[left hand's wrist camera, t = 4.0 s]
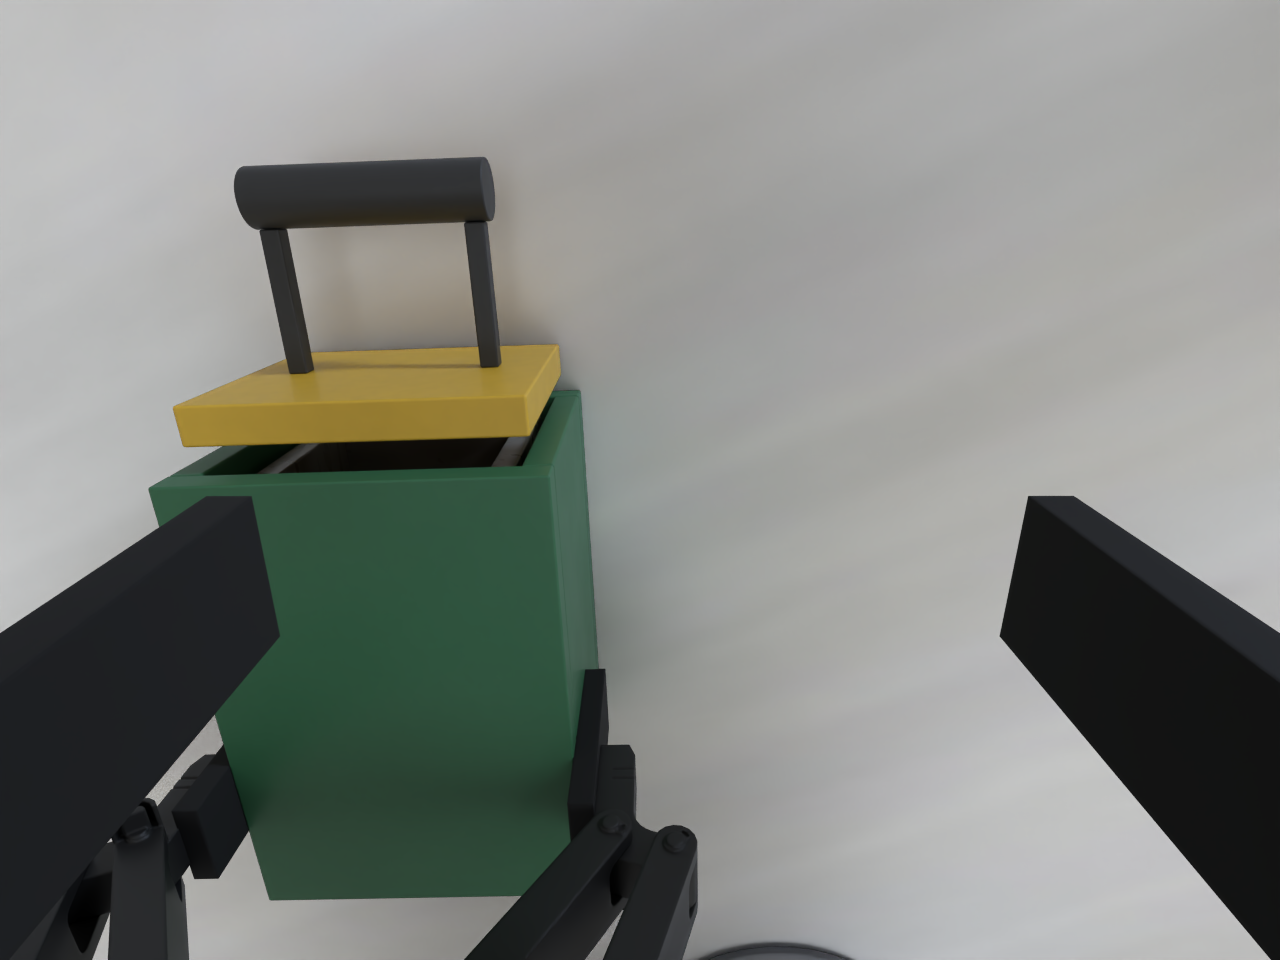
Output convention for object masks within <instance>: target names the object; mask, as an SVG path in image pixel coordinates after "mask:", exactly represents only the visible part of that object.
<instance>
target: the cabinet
mask: <svg viewBox="0 0 1280 960" xmlns="http://www.w3.org/2000/svg"><path fill="white" fill-rule="evenodd" d="M540 417H541V422H542V425H541V428H540V430H539V432H538V434H537V436H536V438H535V440H534V442H533V444H532V446H531V448H530V450H529V453H528V455H527V457H526V459H525V461H524V463H523V465H522V466H510V467H477V468H444V469H411V470H378V471H345V472H312V473H279V474H257V473H258V472H260V471H261V470H262V469H264V468H265V467H267V466H268V465H270V464H271V463H273V462H274V461H276V460H277V459H279V458H280V457H281V456H283V455H284V454H286V453H287V452H289V451H290V450H292V449H293V448H295V447H296V446H298V445H299V444H272V445H240V446H222V447H221V448H219V449H217V450H215V451H214V452H212V453H210V454H208V455H207V456H205V457H203V458H201V459H199V460H198V461H196V462H194V463H192V464H191V465H189V466H187V467H185V468H184V469H182V470H180V471H178V472H176V473H175V474H173V475H171V476H170V477H167V478H165V479H164V480H162V481H160V482H158V483H157V484H155V485H153V486H151V487H150V488H149V494H150V497H151V500H152V504H153V507H154V510H155V514H156V517H157V521H158V524H159V527H161V526H162V525H164V524H165V523H167V522H168V521H170V520H171V519H173V518H174V517H176V516H177V515H179V514H180V513H182V512H183V511H185V510H186V509H188V508H189V507H191V506H192V505H194V504H195V503H197V502H198V501H200V500H201V499H203V498H204V497H206V496H252V500H253V505H254V510H255V515H256V520H257V525H258V530H259V534H260V539H261V544H262V549H263V554H264V559H265V564H266V569H267V574H268V579H269V583H270V588H271V593H272V598H273V603H274V608H275V613H276V618H277V623H278V628H279V632H280V637H279V638H278V640H277V641H276V642H275V643H274V644H273V646H272V647H271V648H270V649H269V650H268V651H267V653H266V654H265V655H264V656H263V657H262V659H261V660H260V661H259V662H258V663H257V665H256V666H255V667H254V668H253V669H252V671H251V672H250V673H249V674H248V675H247V677H246V678H245V679H244V680H243V681H242V682H241V684H240V685H239V686H238V687H237V688H236V690H235V691H234V692H233V693H232V694H231V696H230V697H229V698H228V699H227V700H226V702H225V703H224V704H223V705H222V706H221V708H220V709H219V710H218V711H217V712H216V713H215V717H216V720H217V724H218V727H219V730H220V734H221V737H222V741H223V744H224V747H225V751H226V754H227V758H228V761H229V764H230V768H231V771H232V774H233V778H234V781H235V785H236V788H237V791H238V795H239V798H240V802H241V805H242V808H243V812H244V815H245V818H246V822H247V825H248V829H249V832H250V835H251V839H252V842H253V846H254V849H255V852H256V856H257V859H258V862H259V866H260V869H261V873H262V876H263V879H264V883H265V886H266V890H267V893H268V896H269V899H270V900H320V899H375V898H430V897H485V896H522V895H523V894H524V893H525V892H526V891H527V890H528V888H529V887H530V886H531V885H532V884H533V883H534V882H535V881H536V880H537V879H538V877H539V876H540V875H541V874H542V873H543V872H544V871H545V870H546V869H547V867H548V866H549V865H550V864H551V863H552V862H553V861H554V860H555V859H556V858H557V856H558V855H559V854H560V853H561V852H562V851H563V850H564V849H565V848H566V846H567V845H568V844H569V843H570V842H571V841H570V830H569V819H568V808H567V801H568V793H569V786H570V778H571V771H572V764H573V758H574V752H575V744H576V736H577V729H578V721H579V714H580V706H581V699H582V691H583V683H584V676H585V669H599V666H598V651H597V635H596V620H595V605H594V589H593V574H592V559H591V544H590V528H589V513H588V498H587V482H586V467H585V452H584V437H583V421H582V406H581V392H580V391H578V390H574V391H552V393H551V395H550V397H549V399H548V401H547V403H546V405H545V407H544V409H543V411H542V412H541V414H540Z"/></svg>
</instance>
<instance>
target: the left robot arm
mask: <svg viewBox="0 0 1280 960" xmlns="http://www.w3.org/2000/svg"><path fill="white" fill-rule="evenodd" d="M279 637H280V632H279V628H278V623H277V618H276V613H275V608H274V603H273V598H272V593H271V588H270V583H269V579H268V574H267V569H266V564H265V559H264V554H263V549H262V544H261V539H260V534H259V530H258V525H257V520H256V515H255V510H254V505H253V500H252V496H206V497H204V498H203V499H201V500H200V501H198V502H197V503H195V504H194V505H192V506H191V507H189V508H188V509H186V510H185V511H183V512H182V513H180V514H179V515H177V516H176V517H174V518H173V519H171V520H170V521H168V522H167V523H165V524H164V525H162V526H161V527H159V528H158V529H156V530H155V531H153V532H152V533H150V534H149V535H147V536H146V537H144V538H143V539H141V540H140V541H138V542H137V543H135V544H134V545H132V546H131V547H129V548H128V549H126V550H125V551H123V552H121V553H120V554H118V555H117V556H115V557H114V558H112V559H111V560H109V561H108V562H106V563H105V564H103V565H102V566H100V567H99V568H97V569H96V570H94V571H93V572H91V573H90V574H88V575H87V576H85V577H84V578H82V579H81V580H79V581H78V582H76V583H75V584H73V585H72V586H70V587H69V588H67V589H66V590H64V591H63V592H61V593H60V594H58V595H57V596H55V597H54V598H52V599H51V600H49V601H48V602H46V603H45V604H43V605H42V606H40V607H39V608H37V609H36V610H34V611H33V612H31V613H30V614H28V615H27V616H25V617H24V618H22V619H21V620H19V621H18V622H16V623H15V624H13V625H12V626H10V627H9V628H7V629H6V630H4V631H3V632H1V633H0V960H9V959H10V958H11V957H12V956H13V954H14V953H15V952H16V951H17V950H18V948H19V947H20V946H21V945H22V944H23V942H24V941H25V940H26V939H27V938H28V936H29V935H30V934H31V933H32V932H33V930H34V929H35V928H36V927H37V926H38V925H39V923H40V922H41V921H42V920H43V919H44V917H45V916H46V915H47V914H48V913H49V911H50V910H51V909H52V908H53V907H54V905H55V904H56V903H57V902H58V901H59V899H60V898H61V897H62V896H63V895H64V894H65V892H66V891H67V890H68V889H69V888H70V886H71V885H72V884H73V883H74V882H75V880H76V879H77V878H78V877H79V876H80V874H81V873H82V872H83V871H84V870H85V868H86V867H87V866H88V865H89V864H90V863H91V861H92V860H93V859H94V858H95V857H96V855H97V854H98V853H99V852H100V851H101V849H102V848H103V847H104V846H105V845H106V843H107V842H108V841H109V840H110V839H111V837H112V836H113V835H114V834H115V833H116V832H117V830H118V829H119V828H120V827H121V826H122V824H123V823H124V822H125V821H126V820H127V818H128V817H129V816H130V815H131V814H132V812H133V811H134V810H135V809H136V808H137V806H138V805H139V804H140V803H141V802H142V801H143V799H144V798H145V797H146V796H147V795H148V793H149V792H150V791H151V790H152V789H153V787H154V786H155V785H156V784H157V783H158V781H159V780H160V779H161V778H162V777H163V775H164V774H165V773H166V772H167V771H168V770H169V768H170V767H171V766H172V765H173V764H174V762H175V761H176V760H177V759H178V758H179V756H180V755H181V754H182V753H183V752H184V750H185V749H186V748H187V747H188V746H189V744H190V743H191V742H192V741H193V740H194V739H195V737H196V736H197V735H198V734H199V733H200V731H201V730H202V729H203V728H204V727H205V725H206V724H207V723H208V722H209V721H210V719H211V718H212V717H213V716H214V715H215V713H216V712H217V711H218V710H219V709H220V708H221V706H222V705H223V704H224V703H225V702H226V700H227V699H228V698H229V697H230V696H231V694H232V693H233V692H234V691H235V690H236V688H237V687H238V686H239V685H240V684H241V682H242V681H243V680H244V679H245V678H246V677H247V675H248V674H249V673H250V672H251V671H252V669H253V668H254V667H255V666H256V665H257V663H258V662H259V661H260V660H261V659H262V657H263V656H264V655H265V654H266V653H267V651H268V650H269V649H270V648H271V647H272V646H273V644H274V643H275V642H276V641H277V640H278V638H279ZM1000 637H1001V638H1002V640H1003V641H1004V642H1005V643H1006V644H1007V646H1008V647H1009V648H1010V649H1011V650H1012V651H1013V653H1014V654H1015V655H1016V656H1017V657H1018V659H1019V660H1020V661H1021V662H1022V663H1023V665H1024V666H1025V667H1026V668H1027V669H1028V671H1029V672H1030V673H1031V674H1032V675H1033V677H1034V678H1035V679H1036V680H1037V681H1038V682H1039V684H1040V685H1041V686H1042V687H1043V688H1044V690H1045V691H1046V692H1047V693H1048V694H1049V696H1050V697H1051V698H1052V699H1053V700H1054V702H1055V703H1056V704H1057V705H1058V706H1059V708H1060V709H1061V710H1062V711H1063V712H1064V713H1065V715H1066V716H1067V717H1068V718H1069V719H1070V721H1071V722H1072V723H1073V724H1074V725H1075V727H1076V728H1077V729H1078V730H1079V731H1080V733H1081V734H1082V735H1083V736H1084V737H1085V739H1086V740H1087V741H1088V742H1089V743H1090V744H1091V746H1092V747H1093V748H1094V749H1095V750H1096V752H1097V753H1098V754H1099V755H1100V756H1101V758H1102V759H1103V760H1104V761H1105V762H1106V764H1107V765H1108V766H1109V767H1110V768H1111V770H1112V771H1113V772H1114V773H1115V774H1116V775H1117V777H1118V778H1119V779H1120V780H1121V781H1122V783H1123V784H1124V785H1125V786H1126V787H1127V789H1128V790H1129V791H1130V792H1131V793H1132V795H1133V796H1134V797H1135V798H1136V799H1137V801H1138V802H1139V803H1140V804H1141V805H1142V806H1143V808H1144V809H1145V810H1146V811H1147V812H1148V814H1149V815H1150V816H1151V817H1152V818H1153V820H1154V821H1155V822H1156V823H1157V824H1158V826H1159V827H1160V828H1161V829H1162V830H1163V832H1164V833H1165V834H1166V835H1167V836H1168V837H1169V839H1170V840H1171V841H1172V842H1173V843H1174V845H1175V846H1176V847H1177V848H1178V849H1179V851H1180V852H1181V853H1182V854H1183V855H1184V857H1185V858H1186V859H1187V860H1188V861H1189V863H1190V864H1191V865H1192V866H1193V867H1194V868H1195V870H1196V871H1197V872H1198V873H1199V874H1200V876H1201V877H1202V878H1203V879H1204V880H1205V882H1206V883H1207V884H1208V885H1209V886H1210V888H1211V889H1212V890H1213V891H1214V892H1215V894H1216V895H1217V896H1218V897H1219V898H1220V899H1221V901H1222V902H1223V903H1224V904H1225V905H1226V907H1227V908H1228V909H1229V910H1230V911H1231V913H1232V914H1233V915H1234V916H1235V917H1236V919H1237V920H1238V921H1239V922H1240V923H1241V925H1242V926H1243V927H1244V928H1245V929H1246V930H1247V932H1248V933H1249V934H1250V935H1251V936H1252V938H1253V939H1254V940H1255V941H1256V942H1257V944H1258V945H1259V946H1260V947H1261V948H1262V950H1263V951H1264V952H1265V953H1266V954H1267V956H1268V957H1269V958H1270V959H1271V960H1280V633H1279V632H1277V631H1276V630H1274V629H1273V628H1271V627H1270V626H1268V625H1267V624H1265V623H1264V622H1262V621H1261V620H1259V619H1258V618H1256V617H1255V616H1253V615H1252V614H1250V613H1249V612H1247V611H1246V610H1244V609H1243V608H1241V607H1240V606H1238V605H1237V604H1235V603H1234V602H1232V601H1231V600H1229V599H1228V598H1226V597H1225V596H1223V595H1222V594H1220V593H1219V592H1217V591H1216V590H1214V589H1213V588H1211V587H1210V586H1208V585H1207V584H1205V583H1204V582H1202V581H1201V580H1199V579H1198V578H1196V577H1195V576H1193V575H1192V574H1190V573H1189V572H1187V571H1186V570H1184V569H1183V568H1181V567H1180V566H1178V565H1177V564H1175V563H1174V562H1172V561H1171V560H1169V559H1168V558H1166V557H1165V556H1163V555H1162V554H1160V553H1158V552H1157V551H1155V550H1154V549H1152V548H1151V547H1149V546H1148V545H1146V544H1145V543H1143V542H1142V541H1140V540H1139V539H1137V538H1136V537H1134V536H1133V535H1131V534H1130V533H1128V532H1127V531H1125V530H1124V529H1122V528H1121V527H1119V526H1118V525H1116V524H1115V523H1113V522H1112V521H1110V520H1109V519H1107V518H1106V517H1104V516H1103V515H1101V514H1100V513H1098V512H1097V511H1095V510H1094V509H1092V508H1091V507H1089V506H1088V505H1086V504H1085V503H1083V502H1082V501H1080V500H1079V499H1077V498H1076V497H1074V496H1028V500H1027V505H1026V510H1025V515H1024V520H1023V525H1022V530H1021V534H1020V539H1019V544H1018V549H1017V554H1016V559H1015V564H1014V569H1013V574H1012V579H1011V583H1010V588H1009V593H1008V598H1007V603H1006V608H1005V613H1004V618H1003V623H1002V628H1001V632H1000Z"/></svg>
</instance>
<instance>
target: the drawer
mask: <svg viewBox="0 0 1280 960" xmlns="http://www.w3.org/2000/svg"><path fill="white" fill-rule="evenodd" d="M234 192H235V198H236V202H237V205H238V208H239V211H240V213H241V215H242V217H243V218H244V220H245V221H246V223H247V224H248V225H249V226H250V227H252V228H254V229H257V230H260V236H261V240H262V245H263V250H264V255H265V260H266V264H267V269H268V274H269V279H270V283H271V288H272V293H273V298H274V303H275V307H276V312H277V317H278V322H279V327H280V331H281V336H282V341H283V346H284V351H285V355H286V359H285V360H282V361H280V362H278V363H275V364H273V365H271V366H268V367H266V368H263V369H261V370H259V371H256V372H254V373H252V374H249V375H247V376H245V377H242V378H240V379H237V380H235V381H233V382H230V383H228V384H226V385H223V386H221V387H218V388H216V389H214V390H211V391H209V392H207V393H204V394H202V395H200V396H197V397H195V398H192V399H190V400H188V401H185V402H183V403H181V404H178V405H176V406H174V407H173V411H174V415H175V418H176V422H177V426H178V430H179V433H180V437H181V441H182V444H183V446H184V447H208V446H240V445H272V444H299V445H298V446H296V447H295V448H293V449H292V450H290V451H289V452H287V453H286V454H284V455H283V456H281V457H280V458H279V459H277V460H276V461H274V462H273V463H271V464H270V465H268V466H267V467H265V468H264V469H262V470H261V471H260V472H258V473H257V474H279V473H312V472H345V471H378V470H411V469H444V468H477V467H510V466H522V465H523V463H524V461H525V459H526V457H527V455H528V453H529V450H530V448H531V446H532V444H533V442H534V440H535V438H536V436H537V434H538V432H539V430H540V428H541V425H542V422H541V417H540V414H541V412H542V411H543V409H544V407H545V405H546V403H547V401H548V399H549V397H550V395H551V393H552V391H553V389H554V387H555V385H556V383H557V381H558V379H559V377H560V375H561V368H560V355H559V346H558V345H557V344H549V345H519V346H500V341H499V332H498V322H497V312H496V303H495V293H494V283H493V273H492V264H491V254H490V244H489V235H488V225H487V222H486V221H491V220H493V218H494V213H495V192H494V183H493V177H492V172H491V168H490V165H489V163H488V160H487V159H486V158H485V157H469V158H443V159H418V160H392V161H366V162H341V163H315V164H289V165H263V166H243V167H241V168H239V169H238V170H237V172H236V175H235V179H234ZM454 222H465V223H464V227H465V236H466V245H467V253H468V262H469V271H470V280H471V289H472V297H473V306H474V315H475V324H476V332H477V341H478V347H460V348H430V349H400V350H371V351H341V352H311V350H310V345H309V340H308V335H307V329H306V324H305V319H304V314H303V309H302V304H301V299H300V294H299V289H298V284H297V278H296V273H295V268H294V263H293V258H292V253H291V248H290V243H289V238H288V233H287V229H293V228H320V227H346V226H373V225H400V224H427V223H454Z"/></svg>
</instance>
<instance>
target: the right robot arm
mask: <svg viewBox="0 0 1280 960" xmlns="http://www.w3.org/2000/svg"><path fill="white" fill-rule="evenodd" d="M608 732H609V722H608V706H607V689H606V673H605V669H585V676H584V683H583V691H582V699H581V706H580V714H579V721H578V729H577V736H576V744H575V752H574V758H573V764H572V771H571V778H570V786H569V793H568V801H567V808H568V819H569V830H570V841H571V842H570V843H569V844H568V845H567V846H566V848H565V849H564V850H563V851H562V852H561V853H560V854H559V855H558V856H557V858H556V859H555V860H554V861H553V862H552V863H551V864H550V865H549V866H548V867H547V869H546V870H545V871H544V872H543V873H542V874H541V875H540V876H539V877H538V879H537V880H536V881H535V882H534V883H533V884H532V885H531V886H530V887H529V888H528V890H527V891H526V892H525V893H524V894H523V895H522V896H521V897H520V898H519V900H518V901H517V902H516V903H515V904H514V905H513V906H512V907H511V908H510V910H509V911H508V912H507V913H506V914H505V915H504V916H503V917H502V918H501V919H500V921H499V922H498V923H497V924H496V925H495V926H494V927H493V928H492V929H491V931H490V932H489V933H488V934H487V935H486V936H485V937H484V938H483V939H482V940H481V942H480V943H479V944H478V945H477V946H476V947H475V948H474V949H473V950H472V952H471V953H470V954H469V955H468V956H467V957H466V958H465V959H464V960H585V959H586V957H587V956H588V955H589V953H590V952H591V951H592V949H593V948H594V947H595V945H596V944H597V943H598V941H599V940H600V939H601V937H602V936H603V935H604V933H605V932H606V931H607V929H608V928H609V927H610V925H611V924H612V923H613V921H614V920H615V919H616V917H617V916H618V915H619V913H620V912H621V911H622V910H624V911H623V913H622V915H621V918H620V920H619V922H618V925H617V927H616V930H615V932H614V934H613V937H612V939H611V941H610V944H609V946H608V949H607V951H606V953H605V956H604V958H603V960H682V958H683V955H684V952H685V949H686V946H687V942H688V939H689V936H690V933H691V930H692V927H693V924H694V920H695V917H696V914H697V908H698V877H697V839H696V837H695V834H694V833H693V832H692V831H691V830H690V829H688V828H685V827H683V826H678V825H671V826H667V827H664V828H663V829H661V830H660V831H658V833H657V832H654V831H650V830H648V829H645V828H644V827H642V826H641V825H640V824H639V823H638V822H637V821H636V790H637V788H636V767H635V754H634V753H633V751H632V749H631V747H630V745H608ZM248 831H249V829H248V825H247V822H246V818H245V815H244V812H243V808H242V805H241V802H240V798H239V795H238V791H237V788H236V785H235V781H234V778H233V774H232V771H231V768H230V764H229V761H228V758H227V754H226V751H225V747H224V744H223V746H222V747H221V748H220V750H219V751H218V752H217V753H216V754H213V755H204V756H203V757H201V758H200V759H199V760H197V761H196V762H195V763H193V764H192V765H191V766H190V767H189V768H188V769H187V771H186V772H185V773H184V774H183V776H182V777H181V780H179V781H178V782H177V783H176V784H175V785H174V787H173V789H171V790H170V792H169V793H168V794H167V795H166V797H165V798H164V799H163V800H162V801H161V803H160V804H159V805H158V806H157V805H156V803H155V801H154V800H152V799H150V798H144V799H143V801H142V802H141V803H140V804H139V805H138V806H137V808H136V809H135V810H134V811H133V812H132V814H131V815H130V816H129V817H128V818H127V820H126V821H125V822H124V823H123V824H122V826H121V827H120V828H119V829H118V830H117V832H116V833H115V834H114V835H113V836H112V837H111V838H112V841H113V842H109V843H106V845H105V846H104V847H103V848H102V849H101V851H100V852H99V853H98V854H97V855H96V857H95V858H94V859H93V860H92V861H91V863H90V864H89V865H88V866H87V867H86V868H85V870H84V871H83V872H82V873H81V874H80V876H79V877H78V878H77V879H76V880H75V882H74V883H73V884H72V885H71V886H70V888H69V889H68V890H67V891H66V892H65V894H64V895H63V896H62V897H61V898H60V899H59V901H58V902H57V903H56V904H55V905H54V907H53V908H52V909H51V910H50V911H49V913H48V914H47V915H46V916H45V917H44V919H43V920H42V921H41V922H40V923H39V925H38V926H37V927H36V928H35V929H34V930H33V932H32V933H31V934H30V935H29V936H28V938H27V939H26V940H25V941H24V942H23V944H22V945H21V946H20V947H19V948H18V950H17V951H16V952H15V953H14V954H13V956H12V957H11V958H10V959H9V960H92V959H93V956H94V953H95V951H96V948H97V945H98V943H99V940H100V937H101V935H102V932H103V930H104V927H105V924H106V922H107V919H108V916H109V914H110V928H109V948H108V960H189V949H188V932H187V916H186V899H185V885H184V882H183V879H182V875H183V874H184V872H185V871H186V870H187V868H188V867H189V865H190V868H191V871H192V874H193V876H194V879H219V877H220V875H221V874H222V872H223V871H224V869H225V868H226V866H227V864H228V863H229V861H230V860H231V858H232V856H233V855H234V853H235V852H236V850H237V849H238V847H239V845H240V844H241V842H242V841H243V839H244V838H245V836H246V834H247V833H248ZM708 960H845V959H843V958H840V957H838V956H835V955H831V954H828V953H824V952H820V951H815V950H810V949H803V948H793V947H763V948H753V949H745V950H740V951H735V952H731V953H727V954H723V955H720V956H717V957H714V958H711V959H708Z"/></svg>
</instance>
